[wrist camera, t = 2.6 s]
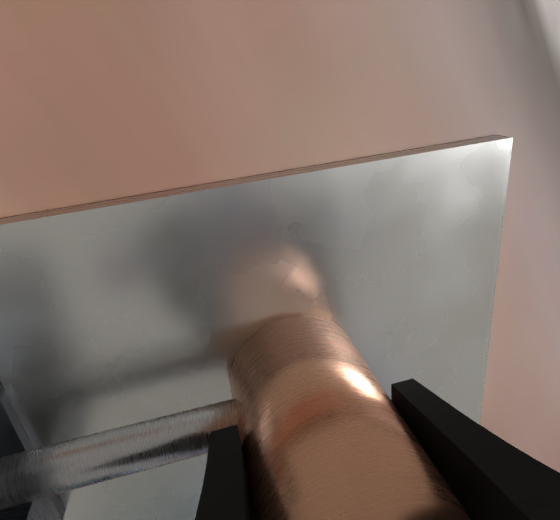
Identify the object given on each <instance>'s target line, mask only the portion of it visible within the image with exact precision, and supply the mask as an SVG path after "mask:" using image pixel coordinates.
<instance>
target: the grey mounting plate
mask: <svg viewBox="0 0 560 520" xmlns="http://www.w3.org/2000/svg"><path fill="white" fill-rule="evenodd" d="M512 142H513V137H507V136H502V135H494V136H488V137H483V138H477V139H471V140H465V141H459V142H453V143H447V144H441V145H435V146H429V147H423V148H417V149H411V150H405V151H399V152H393V153H387V154H381V155H375V156H370V157H364V158H358V159H352V160H346V161H340V162H334V163H328V164H322V165H316V166H310V167H304V168H298V169H292V170H286V171H280V172H274V173H268V174H262V175H257V176H251V177H245V178H239V179H233V180H227V181H221V182H215V183H209V184H203V185H197V186H191V187H185V188H179V189H173V190H167V191H161V192H155V193H149V194H144V195H138V196H132V197H126V198H120V199H114V200H108V201H102V202H96V203H90V204H84V205H78V206H72V207H66V208H60V209H54V210H48V211H42V212H36V213H31V214H25V215H19V216H13V217H7V218H1V219H0V457H2V456H6V455H10V454H14V453H18V452H22V451H26V450H30V449H34V448H38V447H42V446H46V445H50V444H54V443H58V442H62V441H66V440H70V439H74V438H78V437H82V436H86V435H90V434H94V433H98V432H102V431H106V430H110V429H114V428H118V427H122V426H126V425H130V424H134V423H138V422H142V421H146V420H150V419H154V418H158V417H162V416H166V415H170V414H174V413H178V412H182V411H186V410H190V409H194V408H198V407H202V406H206V405H210V404H214V403H218V402H222V401H226V400H230V399H232V394H231V389H230V382H229V378H230V369H231V365H232V362H233V359H234V357H235V355H236V354H237V352H238V350H239V349H240V347H241V346H242V345H243V343H244V342H245V341H246V340H247V339H248V338H249V337H250V336H251V335H253V334H254V333H255V332H256V331H258V330H259V329H261V328H262V327H264V326H266V325H268V324H269V323H272V322H274V321H277V320H279V319H283V318H286V317H291V316H301V315H307V316H316V317H321V318H324V319H327V320H329V321H331V322H333V323H335V324H336V325H338V326H339V327H340V328H341V329H342V330H343V331H344V332H345V333H346V334H347V335H348V337H349V338H350V340H351V341H352V343H353V344H354V346H355V347H356V349H357V350H358V352H359V353H360V355H361V356H362V358H363V359H364V361H365V362H366V364H367V365H368V367H369V368H370V370H371V371H372V373H373V374H374V376H375V377H376V379H377V380H378V382H379V383H380V385H381V386H382V388H383V389H384V391H385V392H386V394H387V395H388V397H389V398H390V399H391V384H393V383H397V382H401V381H405V380H409V379H412V378H413V379H414V380H416V381H417V382H419V383H420V384H422V385H423V386H425V387H426V388H427V389H429V390H430V391H432V392H433V393H434V394H436V395H437V396H439V397H440V398H441V399H443V400H444V401H446V402H447V403H449V404H450V405H451V406H453V407H454V408H456V409H457V410H459V411H460V412H462V413H463V414H464V415H466V416H467V417H469V418H470V419H472V420H473V421H475V422H476V423H478V424H479V425H480V417H481V409H482V400H483V391H484V383H485V374H486V366H487V357H488V348H489V340H490V331H491V322H492V314H493V305H494V297H495V288H496V279H497V271H498V262H499V254H500V245H501V236H502V228H503V219H504V211H505V202H506V193H507V185H508V176H509V168H510V159H511V150H512ZM207 455H208V454H205V455H201V456H197V457H194V458H190V459H186V460H183V461H179V462H175V463H171V464H168V465H164V466H160V467H157V468H153V469H149V470H145V471H142V472H138V473H134V474H131V475H127V476H123V477H119V478H116V479H112V480H108V481H105V482H101V483H97V484H93V485H90V486H86V487H82V488H79V489H75V490H71V491H67V492H64V493H60V494H56V495H52V496H49V497H45V498H41V499H38V500H34V501H30V502H26V503H23V504H19V505H15V506H12V507H8V508H4V509H0V520H195V517H196V513H197V508H198V504H199V499H200V495H201V490H202V486H203V480H204V475H205V469H206V463H207Z"/></svg>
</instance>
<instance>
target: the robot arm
mask: <svg viewBox="0 0 560 520" xmlns="http://www.w3.org/2000/svg"><path fill="white" fill-rule="evenodd" d="M391 401H392V402H393V404H394V405H395V407H396V408H397V410H398V411H399V413H400V414H401V416H402V417H403V419H404V420H405V422H406V423H407V425H408V426H409V428H410V429H411V431H412V432H413V434H414V435H415V437H416V438H417V440H418V441H419V443H420V444H421V446H422V447H423V449H424V450H425V452H426V453H427V455H428V456H429V458H430V459H431V461H432V462H433V464H434V465H435V467H436V468H437V470H438V471H439V473H440V474H441V476H442V477H443V479H444V480H445V482H446V483H447V485H448V486H449V488H450V489H451V491H452V492H453V494H454V495H455V497H456V498H457V500H458V501H459V503H460V504H461V506H462V507H463V509H464V510H465V512H466V513H467V515H468V516H469V518H470V519H471V520H560V473H559V472H557V471H555V470H553V469H551V468H550V467H548V466H546V465H544V464H542V463H541V462H539V461H537V460H535V459H534V458H532V457H530V456H529V455H527V454H525V453H524V452H522V451H520V450H519V449H517V448H515V447H514V446H512V445H510V444H509V443H507V442H506V441H504V440H502V439H501V438H499V437H498V436H496V435H495V434H493V433H492V432H490V431H488V430H487V429H485V428H484V427H482V426H481V425H479V424H478V423H476V422H475V421H473V420H472V419H470V418H469V417H467V416H466V415H464V414H463V413H462V412H460V411H459V410H457V409H456V408H454V407H453V406H451V405H450V404H449V403H447V402H446V401H444V400H443V399H441V398H440V397H439V396H437V395H436V394H434V393H433V392H432V391H430V390H429V389H427V388H426V387H425V386H423V385H422V384H420V383H419V382H417V381H416V380H414V379H413V378H412V379H409V380H405V381H401V382H397V383H393V384H391ZM195 520H254V516H253V510H252V505H251V498H250V492H249V485H248V477H247V472H246V466H245V461H244V456H243V450H242V445H241V440H240V436H239V431H238V426H237V425H234V426H230V427H226V428H222V429H219V430H215V431H212V433H211V434H210V435H209V445H208V455H207V463H206V469H205V475H204V480H203V486H202V490H201V495H200V499H199V504H198V508H197V513H196V517H195Z"/></svg>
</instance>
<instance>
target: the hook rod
mask: <svg viewBox="0 0 560 520" xmlns="http://www.w3.org/2000/svg"><path fill="white" fill-rule="evenodd" d="M229 382H230V389H231V394H232V399H230V400H226V401H222V402H218V403H214V404H210V405H206V406H202V407H198V408H194V409H190V410H186V411H182V412H178V413H174V414H170V415H166V416H162V417H158V418H154V419H150V420H146V421H142V422H138V423H134V424H130V425H126V426H122V427H118V428H114V429H110V430H106V431H102V432H98V433H94V434H90V435H86V436H82V437H78V438H74V439H70V440H66V441H62V442H58V443H54V444H50V445H46V446H42V447H38V448H34V449H30V450H26V451H22V452H18V453H14V454H10V455H6V456H2V457H0V509H4V508H8V507H12V506H15V505H19V504H23V503H26V502H30V501H34V500H38V499H41V498H45V497H49V496H52V495H56V494H60V493H64V492H67V491H71V490H75V489H79V488H82V487H86V486H90V485H93V484H97V483H101V482H105V481H108V480H112V479H116V478H119V477H123V476H127V475H131V474H134V473H138V472H142V471H145V470H149V469H153V468H157V467H160V466H164V465H168V464H171V463H175V462H179V461H183V460H186V459H190V458H194V457H197V456H201V455H205V454H208V445H209V435H210V434H211V433H212V431H215V430H219V429H222V428H226V427H230V426H234V425H237V426H238V431H239V436H240V440H241V445H242V450H243V456H244V461H245V466H246V472H247V477H248V485H249V492H250V498H251V505H252V510H253V516H254V520H471V519H470V518H469V516H468V515H467V513H466V512H465V510H464V509H463V507H462V506H461V504H460V503H459V501H458V500H457V498H456V497H455V495H454V494H453V492H452V491H451V489H450V488H449V486H448V485H447V483H446V482H445V480H444V479H443V477H442V476H441V474H440V473H439V471H438V470H437V468H436V467H435V465H434V464H433V462H432V461H431V459H430V458H429V456H428V455H427V453H426V452H425V450H424V449H423V447H422V446H421V444H420V443H419V441H418V440H417V438H416V437H415V435H414V434H413V432H412V431H411V429H410V428H409V426H408V425H407V423H406V422H405V420H404V419H403V417H402V416H401V414H400V413H399V411H398V410H397V408H396V407H395V405H394V404H393V402H392V401H391V399H390V398H389V397H388V395H387V394H386V392H385V391H384V389H383V388H382V386H381V385H380V383H379V382H378V380H377V379H376V377H375V376H374V374H373V373H372V371H371V370H370V368H369V367H368V365H367V364H366V362H365V361H364V359H363V358H362V356H361V355H360V353H359V352H358V350H357V349H356V347H355V346H354V344H353V343H352V341H351V340H350V338H349V337H348V335H347V334H346V333H345V332H344V331H343V330H342V329H341V328H340V327H339V326H338V325H336V324H335V323H333V322H331V321H329V320H327V319H324V318H321V317H316V316H307V315H301V316H291V317H286V318H283V319H279V320H277V321H274V322H272V323H269V324H268V325H266V326H264V327H262V328H261V329H259V330H258V331H256V332H255V333H254V334H253V335H251V336H250V337H249V338H248V339H247V340H246V341H245V342H244V343H243V345H242V346H241V347H240V349H239V350H238V352H237V354H236V355H235V357H234V359H233V362H232V365H231V369H230V378H229Z"/></svg>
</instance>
